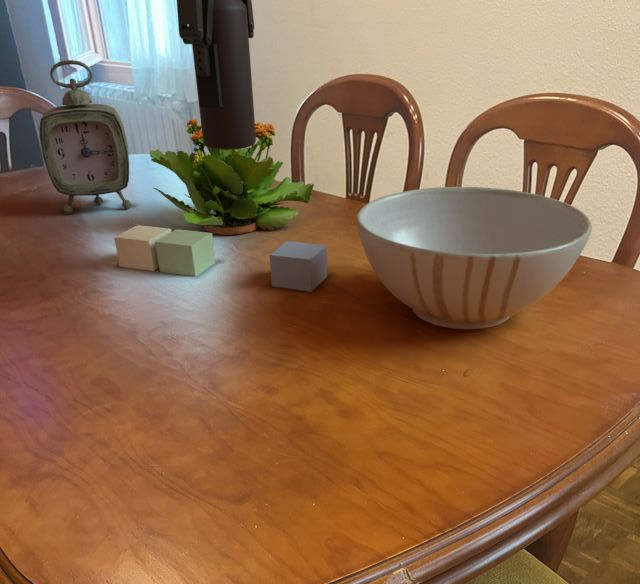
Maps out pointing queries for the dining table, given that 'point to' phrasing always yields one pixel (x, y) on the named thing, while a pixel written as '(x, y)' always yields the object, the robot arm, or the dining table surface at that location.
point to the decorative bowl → (471, 250)
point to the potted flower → (233, 185)
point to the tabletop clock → (84, 145)
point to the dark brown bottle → (230, 81)
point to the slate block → (298, 266)
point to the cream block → (139, 247)
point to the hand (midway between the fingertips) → (225, 101)
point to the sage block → (185, 252)
